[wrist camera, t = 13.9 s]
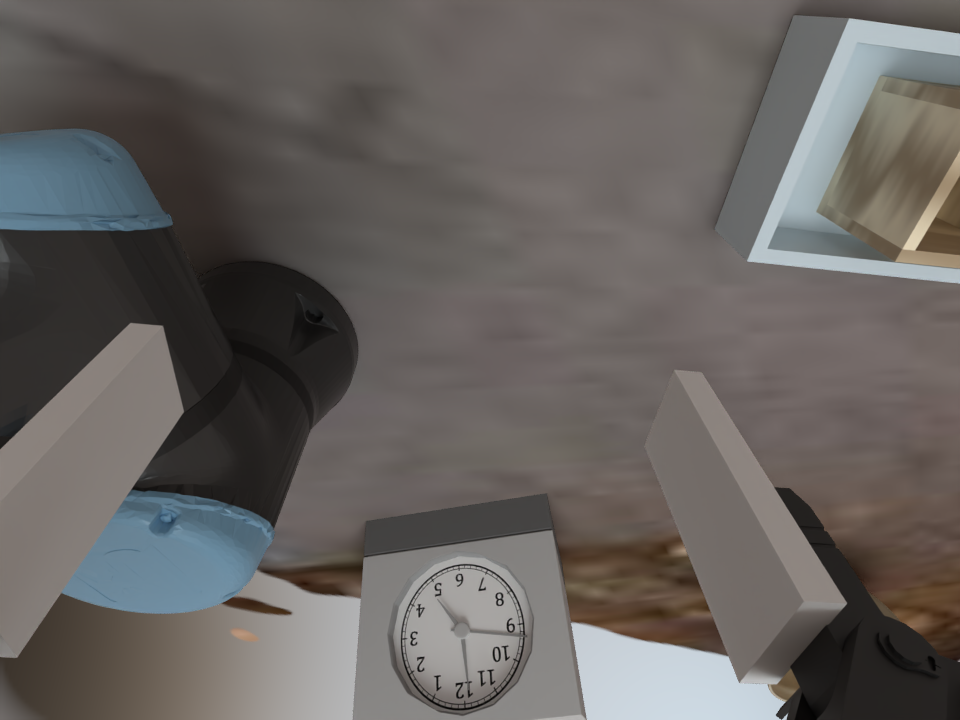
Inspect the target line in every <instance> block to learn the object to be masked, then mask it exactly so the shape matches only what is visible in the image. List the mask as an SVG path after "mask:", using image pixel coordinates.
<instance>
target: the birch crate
mask: <svg viewBox="0 0 960 720" xmlns="http://www.w3.org/2000/svg"><path fill="white" fill-rule="evenodd" d="M816 212H817V213H819V214H820V215H822V216H823V217H825V218H827V219H828V220H830V221H831V222H833V223H835V224H836V225H838V226H839V227H841V228H842V229H844V230H846V231H847V232H849V233H850V234H852V235H853V236H855V237H857V238H858V239H860V240H861V241H863V242H865V243H866V244H868V245H869V246H871V247H872V248H874V249H876V250H877V251H879V252H880V253H882V254H883V255H885V256H887V257H888V258H890V259H891V260H893V261H895V262H902V263H912V264H921V265H931V266H941V267H951V268H960V86H959V85H951V84H943V83H935V82H927V81H919V80H911V79H904V78H896V77H888V76H879V78H878V81H877V83H876V85H875V87H874V89H873V91H872V93H871V96H870V98H869V100H868V102H867V104H866V106H865V108H864V110H863V113H862V115H861V117H860V119H859V121H858V123H857V125H856V128H855V130H854V132H853V134H852V136H851V138H850V140H849V142H848V145H847V147H846V149H845V151H844V153H843V155H842V157H841V160H840V162H839V164H838V166H837V168H836V170H835V172H834V174H833V177H832V179H831V181H830V183H829V185H828V187H827V189H826V192H825V194H824V196H823V198H822V200H821V202H820V204H819V206H818V209H817V211H816Z"/></svg>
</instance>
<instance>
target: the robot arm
mask: <svg viewBox="0 0 960 720" xmlns="http://www.w3.org/2000/svg"><path fill="white" fill-rule="evenodd" d="M171 225H173V221H172V218H171V216H170V214H168V213H167V212H165V211H163V210H162V208H161V206H160V205H159V203H158V201H157V199H156V198H155V196H154V194H153V192H152V191H151V189H150V187H149V185H148V184H147V182H146V180H145V178H144V177H143V175H142V173H141V171H140V170H139V168H138V166H137V164H136V163H135V161H134V159H133V158H132V156H131V155H130V154H129V152H128V151H127V150H126V149H125V148H124V147H123V146H122V145H120V144H119V143H118V142H116V141H115V140H113V139H112V138H110V137H108V136H106V135H104V134H101V133H99V132H95V131H91V130H86V129H53V130H40V131H27V132H16V133H5V134H0V657H18V655H19V654H20V652H21V651H22V649H23V648H24V646H25V645H26V644H27V642H28V640H29V639H30V638H31V636H32V635H33V633H34V632H35V630H36V629H37V627H38V626H39V624H40V623H41V621H42V620H43V619H44V617H45V616H46V614H47V613H48V611H49V610H50V608H51V606H52V605H53V604H54V602H55V601H56V599H57V598H58V596H59V595H60V594H61V593H63V594H66V595H68V596H71V597H73V598H76V599H79V600H82V601H85V602H88V603H92V604H95V605H99V606H103V607H108V608H114V609H118V610H123V611H130V612H139V613H159V614H162V613H164V614H165V613H182V612H191V611H197V610H202V609H205V608H209V607H212V606H215V605H218V604H220V603H222V602H225V601H227V600H228V599H230V598H231V597H233V596H235V595H236V594H237V593H238V592H239V591H241V590H242V588H243V587H244V586H246V585H247V583H248V582H249V581H250V580H251V578H252V577H253V575H254V573H255V571H256V569H257V567H258V565H259V563H260V561H261V559H262V557H263V555H264V553H265V551H266V549H267V547H268V546H269V545H270V544H271V543H272V540H273V538H274V533H275V531H273V530H274V527H275V524H276V522H277V519H278V516H279V514H280V511H281V508H282V506H283V503H284V500H285V498H286V495H287V492H288V490H289V487H290V484H291V482H292V479H293V476H294V474H295V471H296V468H297V465H298V463H299V460H300V457H301V455H302V452H303V449H304V447H305V444H306V441H307V438H308V435H309V433H310V430H311V429H312V428H313V427H314V426H315V425H316V424H317V423H318V422H319V421H320V420H321V419H322V418H323V417H324V416H325V415H326V414H327V413H328V412H329V411H330V410H331V409H332V408H333V407H334V406H335V405H336V404H337V403H338V402H339V401H340V400H341V399H342V397H343V396H344V394H345V393H346V391H347V389H348V387H349V385H350V383H351V380H352V377H353V374H354V371H355V368H356V364H357V358H358V344H357V338H356V334H355V331H354V328H353V326H352V323H351V321H350V319H349V318H348V316H347V314H346V313H345V311H344V310H343V308H342V307H341V306H340V304H339V303H338V302H337V301H336V300H335V299H334V298H333V297H332V296H331V295H330V294H329V293H328V292H327V291H326V290H325V289H323V288H322V287H321V286H320V285H318V284H317V283H315V282H314V281H312V280H311V279H309V278H307V277H305V276H303V275H301V274H299V273H297V272H295V271H292V270H290V269H287V268H284V267H281V266H277V265H273V264H268V263H260V262H240V263H233V264H228V265H224V266H221V267H218V268H216V269H213V270H211V271H209V272H207V273H206V274H204V275H203V276H201V277H200V278H199V279H197V277H196V275H195V273H194V271H193V269H192V267H191V265H190V263H189V261H188V259H187V257H186V255H185V253H184V251H183V249H182V247H181V245H180V243H179V241H178V239H177V237H176V235H175V233H174V231H173V229H172V227H171ZM644 446H645V448H646V451H647V453H648V456H649V458H650V461H651V463H652V466H653V468H654V471H655V473H656V476H657V478H658V481H659V483H660V486H661V488H662V491H663V493H664V496H665V498H666V501H667V503H668V506H669V508H670V511H671V513H672V516H673V518H674V521H675V523H676V526H677V528H678V531H679V533H680V536H681V538H682V541H683V543H684V546H685V548H686V551H687V553H688V556H689V558H690V561H691V563H692V566H693V568H694V571H695V573H696V576H697V578H698V581H699V583H700V586H701V588H702V591H703V593H704V596H705V598H706V601H707V603H708V606H709V608H710V611H711V613H712V616H713V618H714V621H715V623H716V626H717V628H718V631H719V633H720V636H721V638H722V641H723V643H724V646H725V648H726V651H727V653H728V656H729V658H730V661H731V663H732V666H733V668H734V671H735V673H736V676H737V678H738V681H739V683H752V684H778V682H779V681H780V680H781V679H782V678H783V677H784V676H785V674H786V673H787V672H788V671H789V670H790V669H791V670H792V672H793V674H794V676H795V678H796V680H797V682H798V684H799V686H800V687H799V688H798V690H797V691H796V692H795V693H794V694H793V695H792V696H791V697H790V698H789V699H788V700H787V701H786V703H785V704H784V705H783V706H782V707H781V708H780V710H779V711H778V713H777V714H776V716H777V717H779V718H780V719H781V720H782V719H783V718H784V716H786V714H787V713H788V712H789V713H788V716H787V720H960V662H957V661H954V660H952V659H949V658H946V657H943V656H940V655H938V654H937V652H936V650H935V649H934V648H933V647H932V646H931V645H930V644H929V643H928V642H927V641H926V640H925V639H924V638H923V637H922V636H921V635H920V634H919V633H917V632H916V631H914V630H913V629H912V628H910V627H909V626H907V625H906V624H904V623H902V622H900V621H898V620H895V619H893V618H891V617H888V616H884V614H883V613H882V612H881V611H880V609H879V608H878V606H877V605H876V603H875V602H874V600H873V599H872V597H871V596H870V594H869V593H868V591H867V590H866V589H865V587H864V586H863V584H862V583H861V581H860V580H859V578H858V577H857V575H856V574H855V572H854V571H853V569H852V568H851V566H850V565H849V563H848V562H847V560H846V559H845V557H844V556H843V555H842V553H841V552H840V550H839V549H836V547H835V545H836V544H835V543H834V541H833V540H832V538H831V537H830V535H829V534H828V532H827V531H824V526H823V525H822V524H821V522H820V521H819V519H818V518H817V516H816V515H815V513H814V512H813V510H812V509H811V507H810V506H809V505H808V504H806V503H805V502H804V501H803V500H802V499H801V498H800V497H799V496H797V495H796V494H795V493H794V492H793V491H792V490H791V489H790V488H777V487H773V485H772V483H771V482H770V480H769V479H768V477H767V476H766V474H765V472H764V471H763V469H762V468H761V466H760V464H759V463H758V461H757V460H756V458H755V456H754V455H753V453H752V452H751V450H750V449H749V447H748V445H747V444H746V442H745V441H744V439H743V437H742V436H741V434H740V433H739V431H738V429H737V428H736V426H735V425H734V423H733V422H732V420H731V418H730V417H729V415H728V414H727V412H726V410H725V409H724V407H723V406H722V404H721V402H720V401H719V399H718V398H717V396H716V395H715V393H714V391H713V390H712V388H711V387H710V385H709V383H708V382H707V380H706V379H705V377H704V376H703V374H702V372H693V371H681V370H674V371H673V374H672V376H671V379H670V382H669V384H668V387H667V389H666V392H665V394H664V397H663V399H662V402H661V405H660V407H659V410H658V412H657V415H656V417H655V420H654V422H653V425H652V428H651V430H650V433H649V435H648V438H647V440H646V443H645V445H644Z"/></svg>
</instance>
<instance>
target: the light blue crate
mask: <svg viewBox="0 0 960 720" xmlns="http://www.w3.org/2000/svg"><path fill="white" fill-rule="evenodd" d="M879 76H888V77H896V78H904V79H911V80H919V81H927V82H935V83H943V84H951V85H959V86H960V34H959V33H951V32H944V31H937V30H930V29H923V28H915V27H908V26H901V25H894V24H886V23H879V22H872V21H865V20H857V19H850V18H835V17H818V16H802V15H794V16H793V18H792V21H791V24H790V27H789V29H788V32H787V35H786V37H785V40H784V43H783V45H782V48H781V51H780V54H779V56H778V59H777V62H776V64H775V67H774V70H773V72H772V75H771V78H770V81H769V83H768V86H767V89H766V91H765V94H764V97H763V99H762V102H761V105H760V108H759V110H758V113H757V116H756V118H755V121H754V124H753V126H752V129H751V132H750V135H749V137H748V140H747V143H746V145H745V148H744V151H743V153H742V156H741V159H740V162H739V164H738V167H737V170H736V172H735V175H734V178H733V180H732V183H731V186H730V189H729V191H728V194H727V197H726V199H725V202H724V205H723V207H722V210H721V213H720V215H719V218H718V221H717V224H716V226H715V229H714V230H715V231H716V232H718V233H719V234H720V235H721V236H722V237H723V238H724V239H725V240H726V241H727V242H728V243H729V244H730V245H731V246H732V247H733V248H734V249H735V250H736V251H737V252H738V253H739V254H740V255H741V256H742V257H743V258H744V259H745V260H746V261H749V262H759V263H768V264H778V265H788V266H797V267H807V268H816V269H826V270H836V271H845V272H855V273H865V274H874V275H884V276H893V277H903V278H913V279H922V280H932V281H942V282H951V283H960V268H951V267H941V266H931V265H921V264H912V263H902V262H895V261H893V260H891V259H890V258H888V257H887V256H885V255H883V254H882V253H880V252H879V251H877V250H876V249H874V248H872V247H871V246H869V245H868V244H866V243H865V242H863V241H861V240H860V239H858V238H857V237H855V236H853V235H852V234H850V233H849V232H847V231H846V230H844V229H842V228H841V227H839V226H838V225H836V224H835V223H833V222H831V221H830V220H828V219H827V218H825V217H823V216H822V215H820V214H819V213H817V212H816V211H817V209H818V206H819V204H820V202H821V200H822V198H823V196H824V194H825V192H826V189H827V187H828V185H829V183H830V181H831V179H832V177H833V174H834V172H835V170H836V168H837V166H838V164H839V162H840V160H841V157H842V155H843V153H844V151H845V149H846V147H847V145H848V142H849V140H850V138H851V136H852V134H853V132H854V130H855V128H856V125H857V123H858V121H859V119H860V117H861V115H862V113H863V110H864V108H865V106H866V104H867V102H868V100H869V98H870V96H871V93H872V91H873V89H874V87H875V85H876V83H877V81H878V78H879Z"/></svg>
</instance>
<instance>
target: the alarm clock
mask: <svg viewBox="0 0 960 720" xmlns="http://www.w3.org/2000/svg"><path fill="white" fill-rule="evenodd" d="M364 556H365V558H364V562H363V576H362V591H361V606H360V620H359V634H358V635H359V636H358V649H357V664H356V678H355V692H354V708H353V720H587V719H586V713H585V707H584V701H583V694H582V688H581V682H580V676H579V670H578V664H577V657H576V651H575V645H574V639H573V633H572V627H571V621H570V614H569V608H568V602H567V596H566V590H565V583H564V575H563V568H562V563H561V558H560V554H559V549H558V544H557V540H556V535H555V531H554V526H553V521H552V517H551V512H550V508H549V503H548V498H547V494H540V495H533V496H527V497H520V498H514V499H507V500H501V501H494V502H488V503H481V504H475V505H468V506H462V507H455V508H449V509H442V510H436V511H429V512H423V513H416V514H410V515H403V516H397V517H390V518H384V519H377V520H371V521H366V533H365V546H364Z"/></svg>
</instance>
